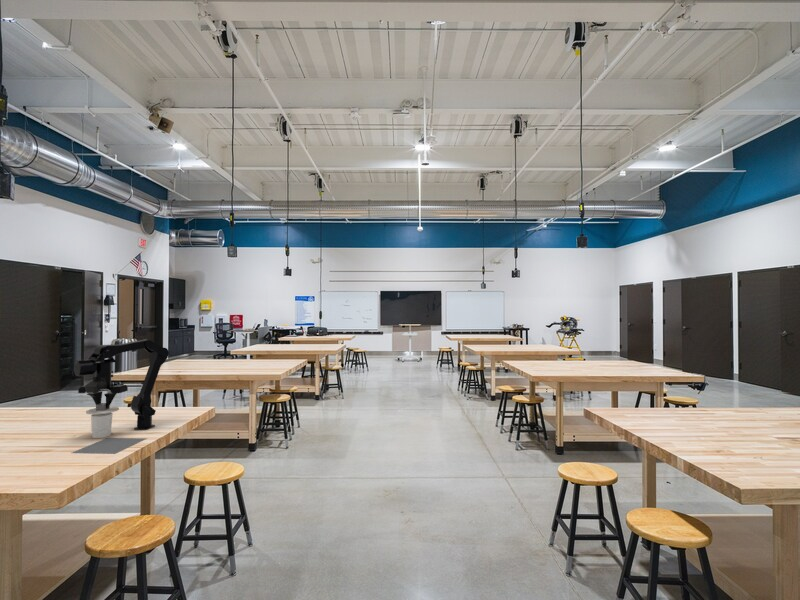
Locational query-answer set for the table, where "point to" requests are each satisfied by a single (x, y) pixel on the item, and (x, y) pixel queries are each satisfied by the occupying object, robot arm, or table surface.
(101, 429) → the white cup
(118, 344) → the robot arm
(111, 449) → the charcoal mat
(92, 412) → the lid
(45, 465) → the table surface
